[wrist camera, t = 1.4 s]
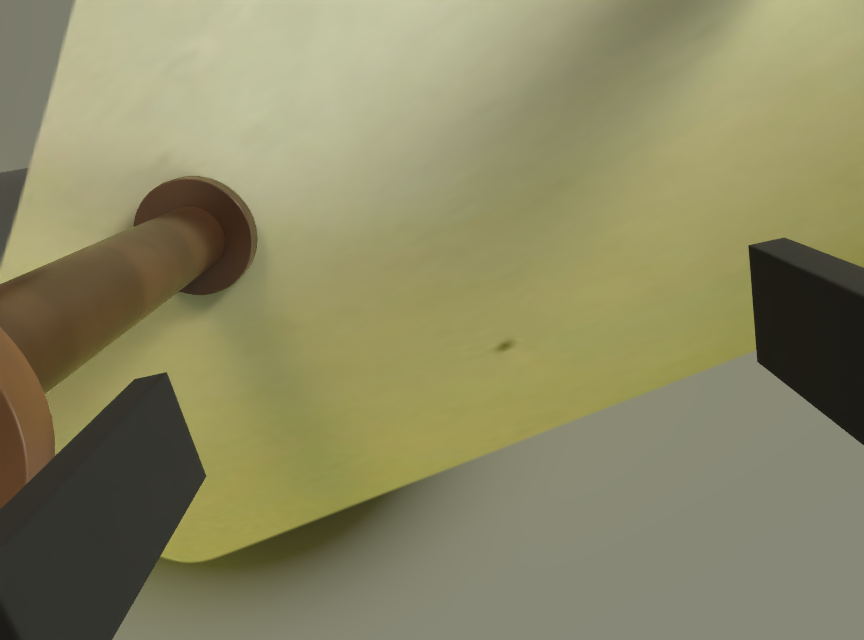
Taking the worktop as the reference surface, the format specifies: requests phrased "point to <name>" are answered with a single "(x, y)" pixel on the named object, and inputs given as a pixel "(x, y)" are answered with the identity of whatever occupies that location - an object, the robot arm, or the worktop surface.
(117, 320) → the dark brown spool
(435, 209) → the worktop surface
